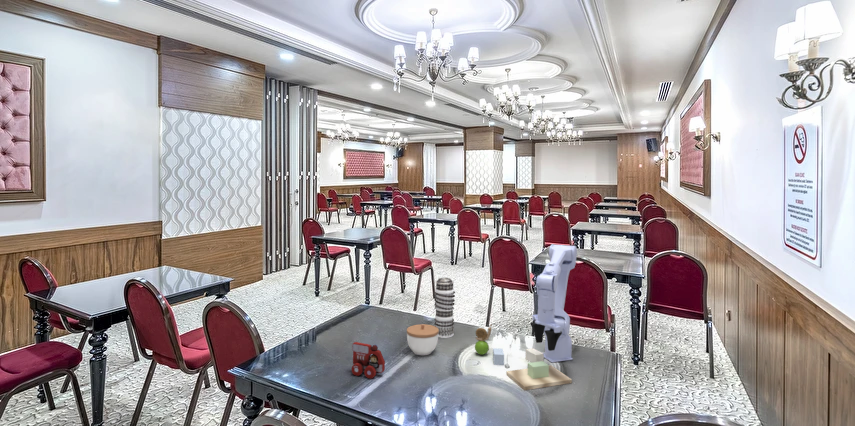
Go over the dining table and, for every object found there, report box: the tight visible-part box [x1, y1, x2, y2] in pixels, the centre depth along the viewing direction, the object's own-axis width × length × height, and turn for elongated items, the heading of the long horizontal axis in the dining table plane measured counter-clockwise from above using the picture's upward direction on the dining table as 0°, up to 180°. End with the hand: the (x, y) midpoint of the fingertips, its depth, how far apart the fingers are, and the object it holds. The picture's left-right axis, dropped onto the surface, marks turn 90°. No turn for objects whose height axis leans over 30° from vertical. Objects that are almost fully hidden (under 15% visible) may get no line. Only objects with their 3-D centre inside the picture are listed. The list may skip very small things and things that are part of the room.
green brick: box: [527, 361, 549, 379], centre depth 146 cm, size 6×4×4 cm, turn 107°
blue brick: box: [492, 347, 505, 366], centre depth 161 cm, size 6×4×4 cm, turn 176°
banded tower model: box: [433, 277, 456, 339], centre depth 188 cm, size 9×9×25 cm
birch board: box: [505, 364, 573, 391], centre depth 146 cm, size 18×12×1 cm, turn 108°
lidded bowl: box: [406, 323, 439, 356], centre depth 169 cm, size 13×13×11 cm
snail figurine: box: [474, 324, 492, 356], centre depth 167 cm, size 5×6×12 cm
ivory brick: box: [524, 347, 545, 363], centre depth 161 cm, size 6×4×4 cm, turn 27°
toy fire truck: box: [350, 341, 386, 380], centre depth 149 cm, size 7×12×10 cm, turn 68°
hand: (545, 346), depth 151 cm, fingers open, 7 cm apart
